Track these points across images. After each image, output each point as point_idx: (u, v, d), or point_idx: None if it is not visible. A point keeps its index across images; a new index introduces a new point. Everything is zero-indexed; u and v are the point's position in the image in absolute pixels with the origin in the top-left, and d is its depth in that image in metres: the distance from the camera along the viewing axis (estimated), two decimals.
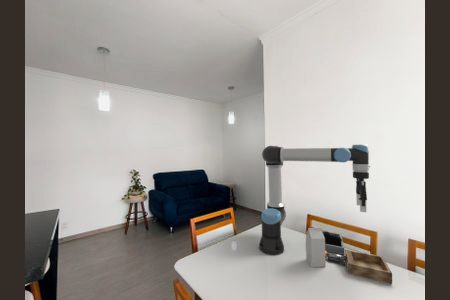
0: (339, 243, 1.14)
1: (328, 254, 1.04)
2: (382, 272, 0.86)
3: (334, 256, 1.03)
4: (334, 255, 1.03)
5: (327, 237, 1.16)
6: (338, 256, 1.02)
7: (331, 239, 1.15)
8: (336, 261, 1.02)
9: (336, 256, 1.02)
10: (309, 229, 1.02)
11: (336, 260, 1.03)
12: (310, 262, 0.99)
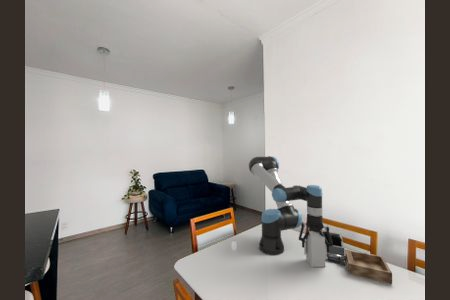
0: (339, 243, 1.14)
1: (328, 254, 1.04)
2: (382, 272, 0.86)
3: (334, 256, 1.03)
4: (334, 255, 1.03)
5: (327, 237, 1.16)
6: (338, 256, 1.02)
7: None
8: (336, 261, 1.02)
9: (336, 256, 1.02)
10: None
11: (336, 260, 1.03)
12: (310, 262, 0.99)
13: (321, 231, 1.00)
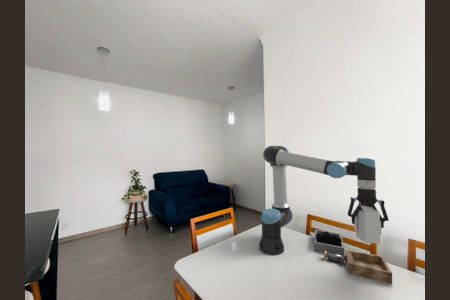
0: (339, 243, 1.14)
1: (328, 254, 1.04)
2: (382, 272, 0.86)
3: (334, 256, 1.03)
4: (334, 255, 1.03)
5: (327, 237, 1.16)
6: (338, 256, 1.02)
7: (331, 239, 1.15)
8: (336, 261, 1.02)
9: (336, 256, 1.02)
10: None
11: (336, 260, 1.03)
12: (363, 238, 0.93)
13: (374, 206, 0.94)
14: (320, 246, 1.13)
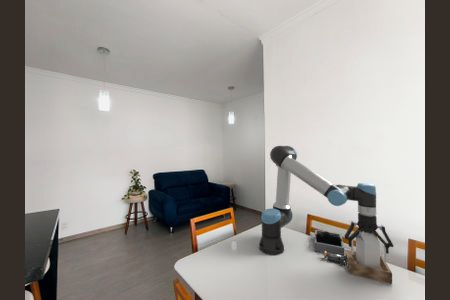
0: (339, 243, 1.14)
1: (328, 254, 1.04)
2: (382, 272, 0.86)
3: (334, 256, 1.03)
4: (334, 255, 1.03)
5: (327, 237, 1.16)
6: (338, 256, 1.02)
7: (331, 239, 1.15)
8: (336, 261, 1.02)
9: (336, 256, 1.02)
10: (361, 232, 0.95)
11: (336, 260, 1.03)
12: None
13: None
14: (320, 246, 1.13)
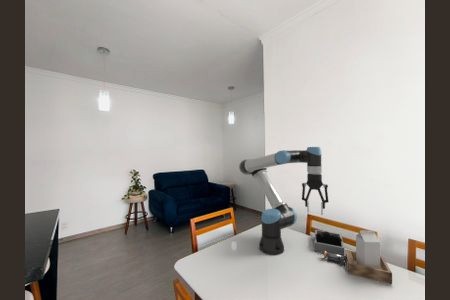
0: (339, 243, 1.14)
1: (328, 254, 1.04)
2: (382, 272, 0.86)
3: (334, 256, 1.03)
4: (334, 255, 1.03)
5: (327, 237, 1.16)
6: (338, 256, 1.02)
7: (331, 239, 1.15)
8: (336, 261, 1.02)
9: (336, 256, 1.02)
10: (361, 232, 0.95)
11: (336, 260, 1.03)
12: None
13: None
14: (320, 246, 1.13)
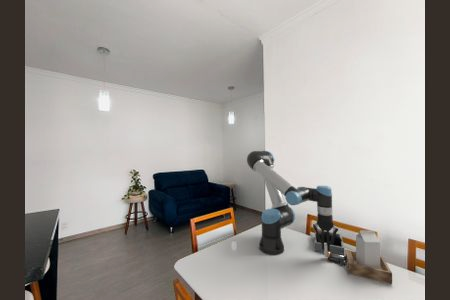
0: (339, 243, 1.14)
1: (331, 255, 1.03)
2: (382, 272, 0.86)
3: (337, 257, 1.02)
4: (338, 256, 1.02)
5: None
6: (342, 257, 1.01)
7: None
8: (336, 261, 1.02)
9: (340, 257, 1.01)
10: (361, 232, 0.95)
11: (336, 260, 1.03)
12: None
13: (328, 230, 1.05)
14: (320, 246, 1.13)
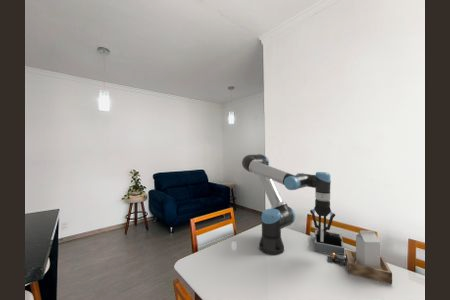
0: (339, 243, 1.14)
1: (336, 256, 1.02)
2: (382, 272, 0.86)
3: None
4: (343, 257, 1.01)
5: (327, 237, 1.16)
6: None
7: (331, 239, 1.15)
8: (336, 261, 1.02)
9: (345, 258, 1.00)
10: (361, 232, 0.95)
11: (336, 260, 1.03)
12: None
13: None
14: (320, 246, 1.13)
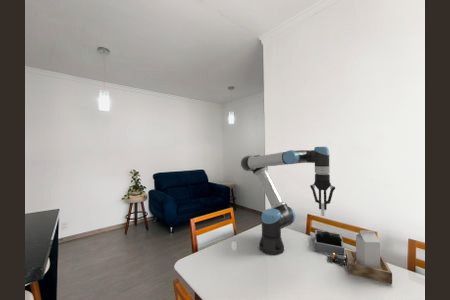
0: (339, 243, 1.14)
1: (336, 256, 1.02)
2: (382, 272, 0.86)
3: None
4: (343, 257, 1.01)
5: (327, 237, 1.16)
6: None
7: (331, 239, 1.15)
8: (336, 261, 1.02)
9: (345, 258, 1.00)
10: (361, 232, 0.95)
11: (336, 260, 1.03)
12: None
13: None
14: (320, 246, 1.13)
